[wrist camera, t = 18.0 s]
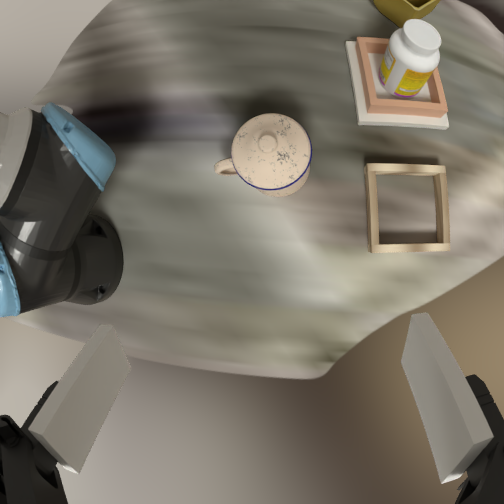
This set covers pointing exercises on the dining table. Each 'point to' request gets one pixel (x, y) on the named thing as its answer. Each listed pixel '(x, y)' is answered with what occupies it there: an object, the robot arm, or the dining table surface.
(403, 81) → the supplement bottle
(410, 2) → the flower pot
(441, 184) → the holder ring
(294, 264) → the dining table surface
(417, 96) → the plate
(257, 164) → the teacup with lid
